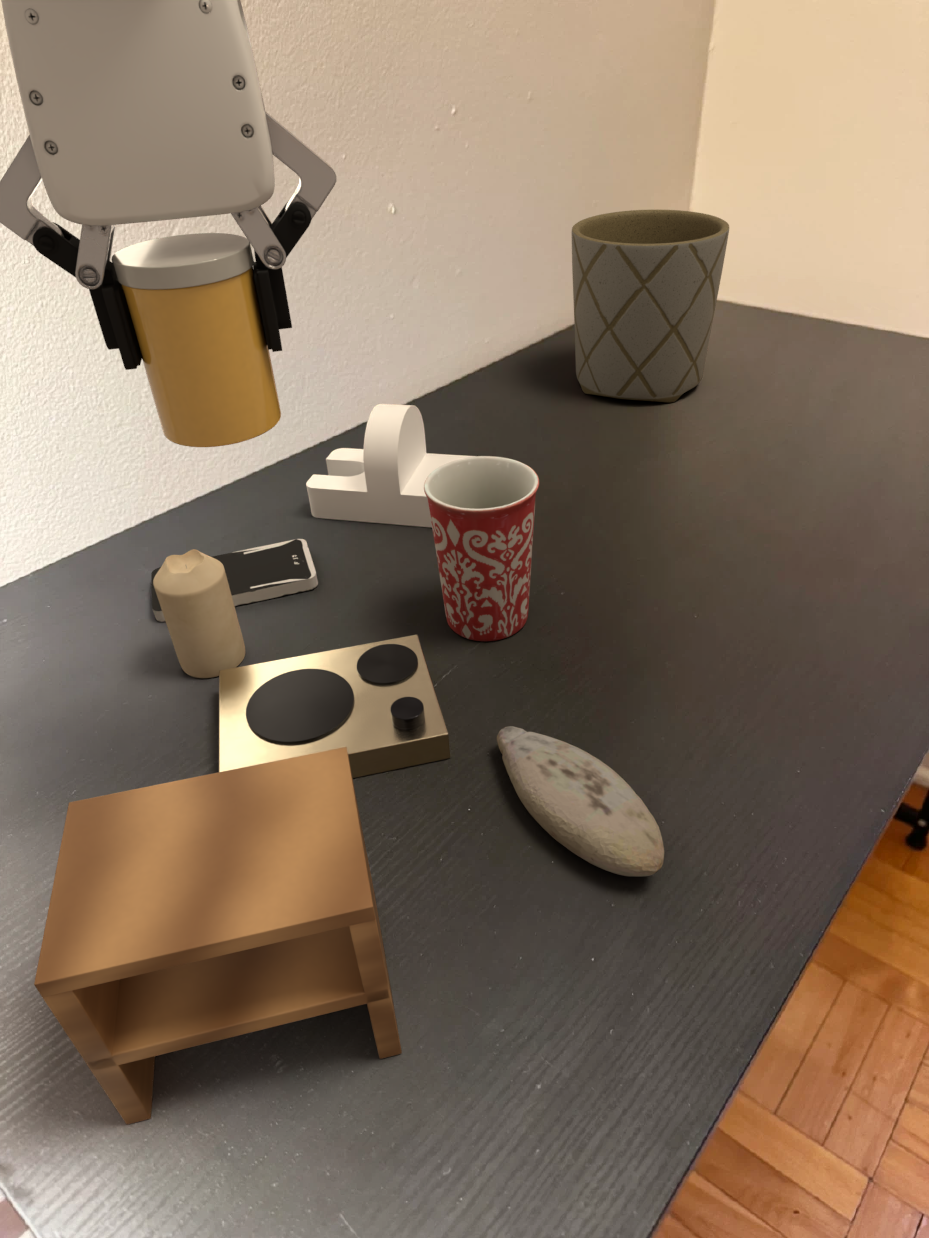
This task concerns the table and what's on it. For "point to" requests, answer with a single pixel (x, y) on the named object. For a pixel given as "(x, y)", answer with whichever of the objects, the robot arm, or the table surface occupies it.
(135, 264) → the jar
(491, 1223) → the table surface
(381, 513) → the u-slot stand
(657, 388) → the planter
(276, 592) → the smartphone
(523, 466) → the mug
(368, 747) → the hob
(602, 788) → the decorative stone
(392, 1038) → the shelf
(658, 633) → the table surface
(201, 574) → the candle
